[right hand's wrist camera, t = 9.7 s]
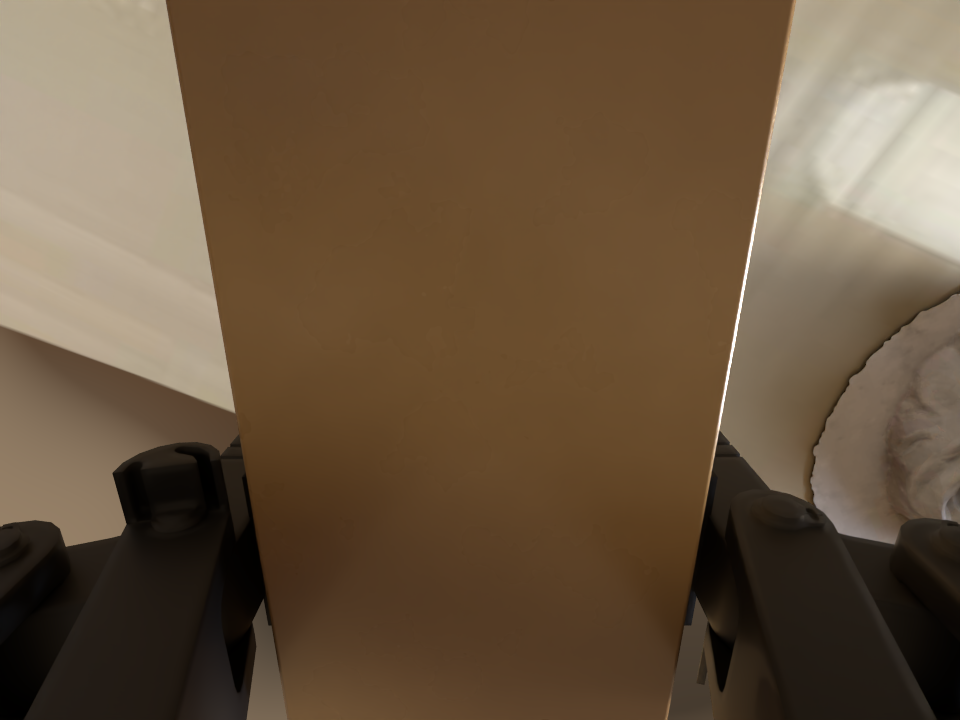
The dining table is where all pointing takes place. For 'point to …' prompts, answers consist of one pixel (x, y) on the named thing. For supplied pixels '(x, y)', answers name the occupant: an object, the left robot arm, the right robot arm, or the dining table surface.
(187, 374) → the dining table surface
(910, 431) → the pale stone sculpture
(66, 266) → the dining table surface
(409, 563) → the beam
